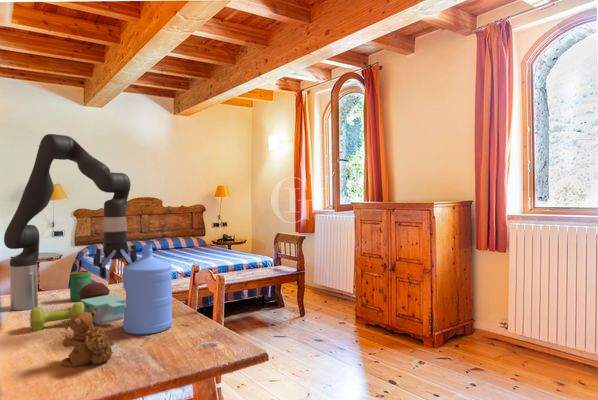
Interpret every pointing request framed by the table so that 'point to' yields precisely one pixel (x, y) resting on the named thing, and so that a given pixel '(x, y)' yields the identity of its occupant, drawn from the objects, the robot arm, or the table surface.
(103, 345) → the stuffed squirrel
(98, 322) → the tub
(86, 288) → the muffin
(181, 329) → the table surface
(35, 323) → the dumbbell
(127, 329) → the water jug
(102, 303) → the teal flat paddle shape
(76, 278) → the beverage can
